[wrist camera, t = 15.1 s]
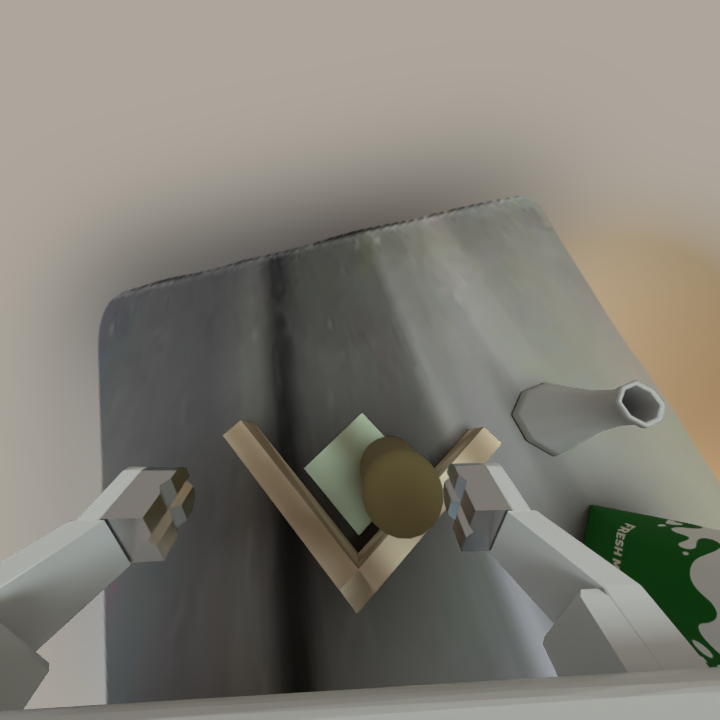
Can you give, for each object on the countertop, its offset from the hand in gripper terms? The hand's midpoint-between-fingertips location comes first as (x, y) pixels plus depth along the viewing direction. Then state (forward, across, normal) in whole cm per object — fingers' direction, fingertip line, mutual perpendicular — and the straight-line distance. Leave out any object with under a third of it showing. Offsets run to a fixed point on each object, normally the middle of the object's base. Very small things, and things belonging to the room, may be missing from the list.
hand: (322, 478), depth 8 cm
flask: (+16, +22, -10) cm, 29 cm away
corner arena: (+15, +2, -12) cm, 20 cm away
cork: (+13, +5, -14) cm, 20 cm away
